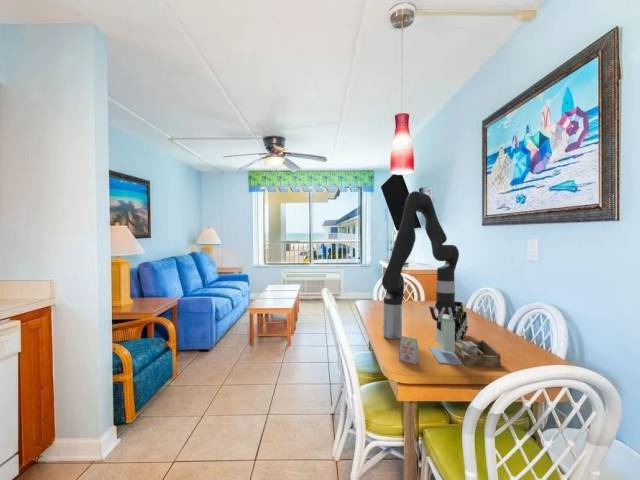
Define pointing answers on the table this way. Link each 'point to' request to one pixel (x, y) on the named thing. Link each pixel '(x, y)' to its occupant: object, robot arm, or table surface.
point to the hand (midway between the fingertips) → (445, 330)
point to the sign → (460, 323)
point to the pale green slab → (446, 334)
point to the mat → (445, 356)
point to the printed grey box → (408, 350)
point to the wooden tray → (480, 356)
